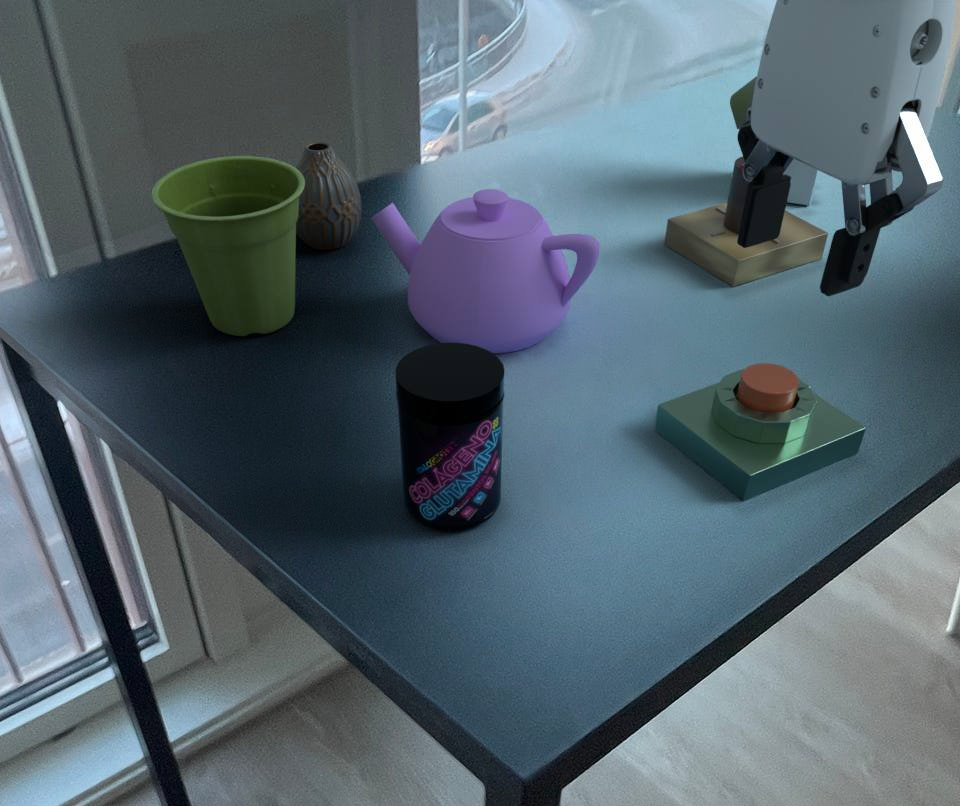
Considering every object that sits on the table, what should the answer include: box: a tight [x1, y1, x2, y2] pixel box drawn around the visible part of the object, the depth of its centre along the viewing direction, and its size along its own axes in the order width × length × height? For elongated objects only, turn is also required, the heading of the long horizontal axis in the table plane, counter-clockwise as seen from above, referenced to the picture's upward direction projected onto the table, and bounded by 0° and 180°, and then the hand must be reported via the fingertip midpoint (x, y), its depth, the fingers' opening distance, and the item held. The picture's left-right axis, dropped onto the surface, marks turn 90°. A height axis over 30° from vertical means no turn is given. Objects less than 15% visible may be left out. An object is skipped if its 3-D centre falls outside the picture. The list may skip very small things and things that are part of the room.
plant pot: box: [150, 155, 305, 337], centre depth 83 cm, size 12×12×11 cm
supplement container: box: [394, 342, 506, 533], centre depth 65 cm, size 7×7×10 cm
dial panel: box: [663, 202, 829, 288], centre depth 95 cm, size 11×10×3 cm
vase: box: [294, 140, 362, 251], centre depth 94 cm, size 7×7×9 cm
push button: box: [737, 362, 800, 413], centre depth 71 cm, size 4×4×2 cm
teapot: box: [370, 188, 601, 354], centre depth 83 cm, size 14×20×11 cm
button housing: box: [654, 368, 867, 502], centre depth 73 cm, size 11×10×4 cm
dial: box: [724, 156, 749, 234], centre depth 92 cm, size 4×4×6 cm
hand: (798, 262), depth 65 cm, fingers open, 6 cm apart
